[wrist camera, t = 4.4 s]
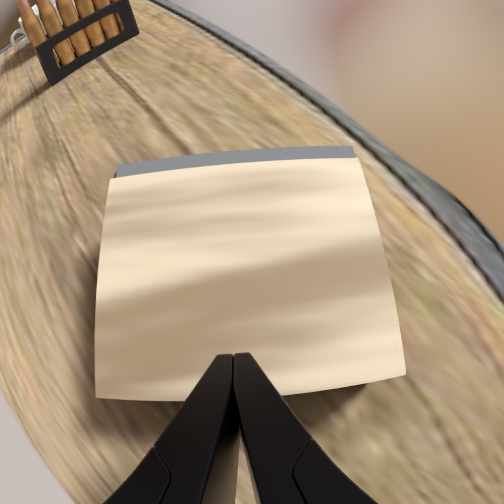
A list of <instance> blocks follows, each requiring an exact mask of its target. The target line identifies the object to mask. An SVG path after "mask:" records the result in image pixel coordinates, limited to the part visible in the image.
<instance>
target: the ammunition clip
mask: <svg viewBox="0 0 504 504" xmlns="http://www.w3.org/2000/svg"><path fill="white" fill-rule="evenodd" d="M35 1H36V5H37V7H38V10H39V16H40V19H41V21H42V24H43V26H44V28H45V31H46V33H47V35H46V34H45V32H44V30H43V28H42V25H41V23H40V21H39V19H38V17H37V16H36V15H35V13H34V12H33V10H32V8H31V7H30V4H29V2H28V0H15V3H16V7H17V10H18V12H19V15H20V18H21V20H22V25H23V28H24V31H25V33H26V35H27V37H28V39H29V41H30V43H31V45H32V47H33V49H34V51H35V53H36V55H37V57H38V59H39V62H40V64H41V66H42V68H43V71H44V73H45V75H46V77H47V79H48V81H49V83H50V84H51V85H52V86H53V85H55V84H56V83H58V82H59V81H61V80H62V79H63V78H65V77H66V76H68V75H69V74H71V73H72V72H74V71H75V70H77V69H79V68H80V67H82V66H83V65H85V64H86V63H88V62H90V61H91V60H93V59H95V58H96V57H98V56H100V55H101V54H103V53H105V52H107V51H108V50H110V49H112V48H114V47H116V46H117V45H119V44H121V43H123V42H125V41H127V40H129V39H130V38H132V37H134V36H136V35H138V34H139V30H138V27H137V24H136V21H135V18H134V15H133V12H132V9H131V6H130V3H129V0H73V1H74V4H75V6H76V9H77V12H78V14H77V12H76V9H75V6H74V4H73V1H72V0H55V2H56V7H57V10H58V13H59V15H60V18H61V20H62V23H63V25H62V24H61V22H60V19H59V17H58V15H57V12H56V10H55V8H54V6H53V5H52V3H51V2H50V0H35ZM92 2H93V3H92ZM93 5H94V6H93ZM78 15H79V16H78ZM98 20H99V21H98ZM99 23H100V24H99ZM83 29H84V30H83ZM84 31H85V32H84ZM85 34H86V35H85ZM86 36H87V37H86ZM68 38H69V40H70V42H71V45H72V47H73V49H74V52H73V50H72V47H71V45H70V43H69V40H68ZM87 39H88V40H87ZM53 48H54V51H55V53H56V55H57V57H58V59H59V61H60V62H59V61H58V59H57V57H56V55H55V53H54V51H53Z"/></svg>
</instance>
